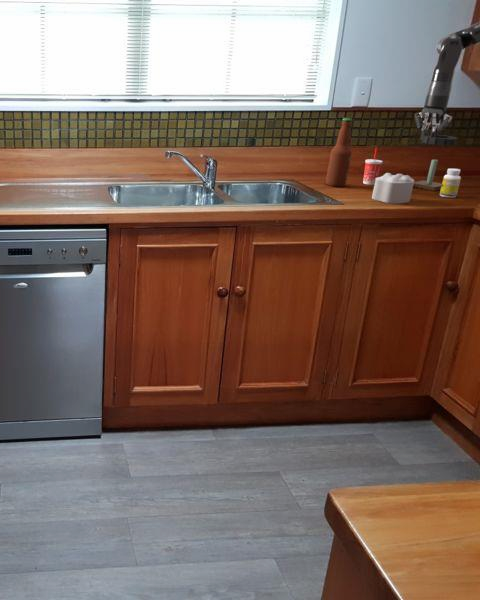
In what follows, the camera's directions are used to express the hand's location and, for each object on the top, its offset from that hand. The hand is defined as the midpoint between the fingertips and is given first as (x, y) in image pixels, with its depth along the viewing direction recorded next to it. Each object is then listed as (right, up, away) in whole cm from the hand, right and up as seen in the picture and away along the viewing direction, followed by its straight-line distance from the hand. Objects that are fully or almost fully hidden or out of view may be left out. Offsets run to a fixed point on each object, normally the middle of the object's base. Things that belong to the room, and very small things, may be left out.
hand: (427, 141), depth 232 cm
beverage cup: (-18, -15, +8) cm, 25 cm away
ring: (+2, -2, -3) cm, 4 cm away
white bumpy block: (-22, -25, -17) cm, 37 cm away
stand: (+2, -17, +3) cm, 17 cm away
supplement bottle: (+1, -23, -11) cm, 25 cm away
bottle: (-34, -16, +4) cm, 37 cm away
